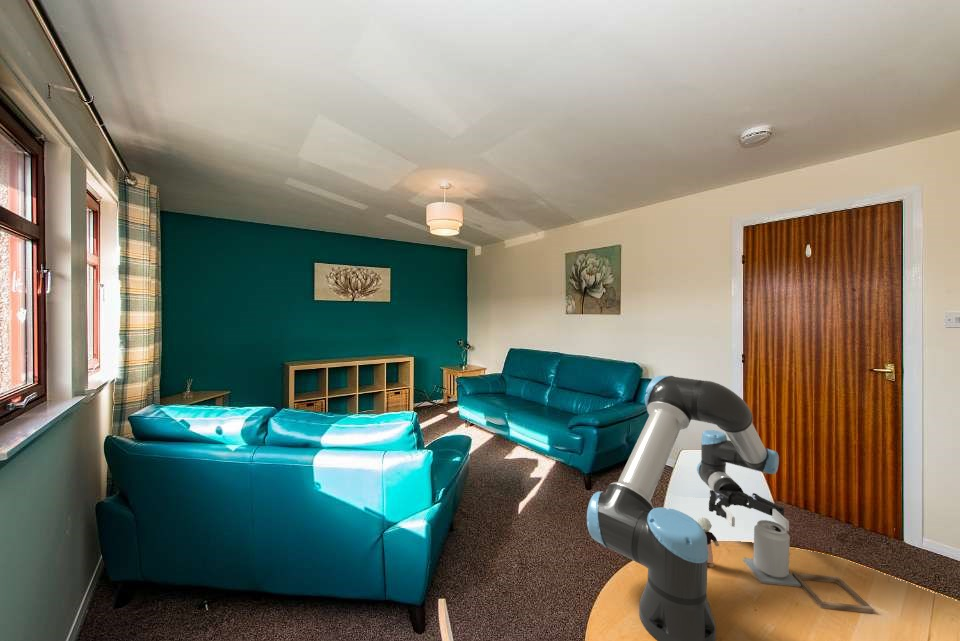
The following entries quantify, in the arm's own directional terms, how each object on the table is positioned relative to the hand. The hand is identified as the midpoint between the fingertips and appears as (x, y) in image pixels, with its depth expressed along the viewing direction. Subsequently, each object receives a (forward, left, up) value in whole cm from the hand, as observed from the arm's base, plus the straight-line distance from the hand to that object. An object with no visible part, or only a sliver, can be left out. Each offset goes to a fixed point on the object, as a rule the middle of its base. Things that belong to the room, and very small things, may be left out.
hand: (760, 524), depth 108 cm
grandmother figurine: (-17, -5, -10) cm, 20 cm away
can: (0, -6, -9) cm, 11 cm away
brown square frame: (+9, -12, -9) cm, 18 cm away
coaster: (-1, -6, -9) cm, 11 cm away
